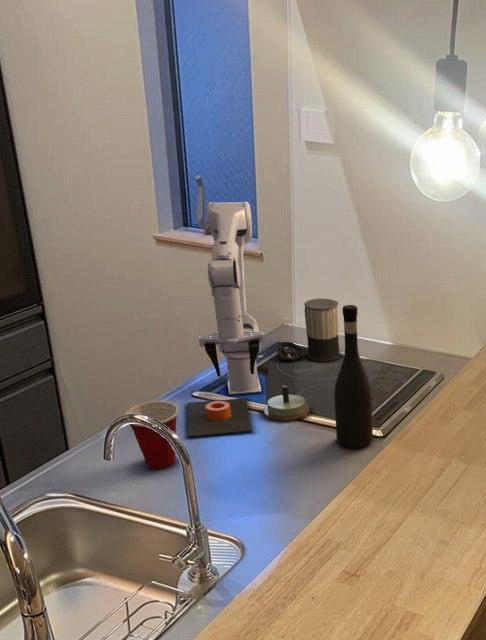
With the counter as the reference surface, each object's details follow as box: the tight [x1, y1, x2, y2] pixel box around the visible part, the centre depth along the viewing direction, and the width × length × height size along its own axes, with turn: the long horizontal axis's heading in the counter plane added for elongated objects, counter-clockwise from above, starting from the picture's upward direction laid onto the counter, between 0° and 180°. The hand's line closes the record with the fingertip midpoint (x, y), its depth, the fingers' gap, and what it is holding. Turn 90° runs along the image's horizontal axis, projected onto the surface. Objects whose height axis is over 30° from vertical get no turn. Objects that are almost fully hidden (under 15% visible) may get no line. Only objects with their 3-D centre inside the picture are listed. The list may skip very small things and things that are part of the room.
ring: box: [205, 400, 231, 421], centre depth 200 cm, size 6×6×3 cm
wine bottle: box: [333, 304, 374, 449], centre depth 182 cm, size 8×8×30 cm
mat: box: [187, 397, 253, 439], centre depth 201 cm, size 20×14×1 cm
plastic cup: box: [124, 400, 179, 470], centre depth 177 cm, size 11×11×12 cm
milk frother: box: [276, 298, 341, 362], centre depth 233 cm, size 14×16×15 cm
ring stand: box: [263, 384, 311, 423], centre depth 202 cm, size 11×11×7 cm
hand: (235, 373), depth 199 cm, fingers open, 7 cm apart
